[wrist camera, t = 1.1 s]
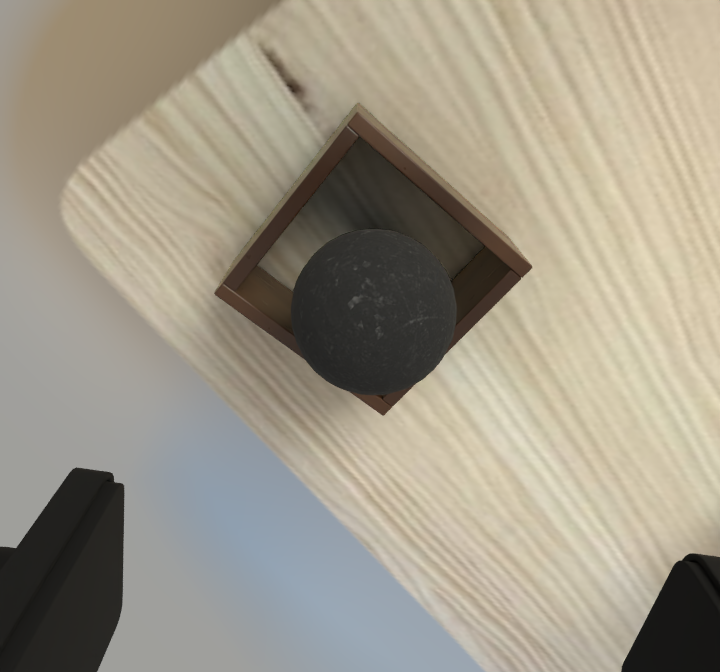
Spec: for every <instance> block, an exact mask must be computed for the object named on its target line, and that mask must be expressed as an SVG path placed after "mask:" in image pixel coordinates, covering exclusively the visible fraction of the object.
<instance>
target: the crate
mask: <svg viewBox="0 0 720 672" xmlns="http://www.w3.org/2000/svg"><path fill="white" fill-rule="evenodd" d="M359 136H360V137H361V138H362V139H363V140H364V141H366V142H367V143H368V144H369V145H370V146H371V147H372V148H374V149H375V150H376V151H377V152H378V153H379V154H380V155H382V156H383V157H384V158H385V159H386V160H387V161H388V162H390V163H391V164H392V165H393V166H394V167H395V168H396V169H398V170H399V171H400V172H401V173H402V174H403V175H404V176H406V177H407V178H408V179H409V180H410V181H411V182H412V183H414V184H415V185H416V186H417V187H418V188H419V189H420V190H422V191H423V192H424V193H425V194H426V195H427V196H428V197H430V198H431V199H432V200H433V201H434V202H435V203H436V204H437V205H439V206H440V207H441V208H442V209H443V210H444V211H445V212H447V213H448V214H449V215H450V216H451V217H452V218H453V219H455V220H456V221H457V222H458V223H459V224H460V225H461V226H463V227H464V228H465V229H466V230H467V231H468V232H469V233H471V234H472V235H473V236H474V237H475V238H476V239H477V240H479V241H480V242H481V243H482V244H483V245H484V246H485V247H484V248H483V249H482V250H481V251H480V252H479V253H478V254H477V256H476V257H475V258H474V259H473V260H472V261H471V262H470V263H469V264H468V265H467V266H466V267H465V268H464V269H463V270H462V271H461V272H460V273H459V274H458V275H457V276H456V277H455V279H454V280H453V281H452V282H451V283H452V286H453V288H454V294H455V300H456V305H457V306H456V307H457V313H456V325H455V330H454V335H453V339H452V341H451V343H450V345H449V347H448V349H447V351H446V353H447V352H448V351H449V350H450V349H451V348H452V347H453V346H454V345H455V344H456V343H457V342H458V341H459V340H460V339H461V338H462V337H463V336H464V335H465V334H466V333H467V332H468V331H469V330H470V329H471V328H472V327H473V326H474V325H475V324H476V323H477V322H478V321H479V320H480V319H481V318H482V317H483V316H484V315H485V314H486V313H487V312H488V311H489V310H490V309H491V308H492V307H493V306H494V305H495V304H496V303H497V302H498V301H499V300H500V299H501V298H502V297H503V296H504V295H505V294H506V293H507V292H508V291H509V290H510V289H511V288H512V287H513V286H514V285H515V284H516V283H517V282H518V281H520V280H521V277H523V276H524V275H525V274H526V273H527V272H528V271H529V270H530V269H531V268H532V265H531V264H530V263H529V262H528V261H527V259H526V258H525V257H524V256H523V254H522V253H521V252H520V251H519V249H518V248H517V247H516V246H515V244H514V243H513V242H512V241H511V239H510V238H509V237H508V236H507V235H505V234H504V233H503V232H502V231H501V230H500V229H499V228H498V227H497V226H495V225H494V224H493V223H492V222H491V221H490V220H489V219H488V218H487V217H485V216H484V215H483V214H482V213H481V212H480V211H479V210H478V209H476V208H475V207H474V206H473V205H472V204H471V203H470V202H469V201H468V200H466V199H465V198H464V197H463V196H462V195H461V194H460V193H459V192H457V191H456V190H455V189H454V188H453V187H452V186H451V185H450V184H449V183H447V182H446V181H445V180H444V179H443V178H442V177H441V176H440V175H438V174H437V173H436V172H435V171H434V170H433V169H432V168H431V167H430V166H428V165H427V164H426V163H425V162H424V161H423V160H422V159H421V158H420V157H418V156H417V155H416V154H415V153H414V152H413V151H412V150H411V149H409V148H408V147H407V146H406V145H405V144H404V143H403V142H402V141H401V140H399V139H398V138H397V137H396V136H395V135H394V134H393V133H392V132H390V131H389V130H388V129H387V128H386V127H385V126H384V125H383V124H382V123H380V122H379V121H378V120H377V119H376V118H375V117H374V116H373V115H371V114H370V113H369V112H368V111H367V110H366V109H365V108H364V107H363V106H361V105H360V104H359V103H357V104H356V105H355V106H354V108H353V109H352V110H351V112H350V113H349V115H347V117H346V118H345V119H344V121H343V122H342V123H341V124H340V126H339V127H338V128H337V129H336V131H335V132H334V133H333V135H332V136H331V137H330V138H329V140H328V141H327V142H326V144H325V145H324V146H323V147H322V149H321V150H320V151H319V152H318V154H317V155H316V156H315V158H314V159H313V160H312V161H311V163H310V164H309V165H308V167H307V168H306V169H305V170H304V172H303V173H302V174H301V175H300V177H299V178H298V179H297V181H296V182H295V183H294V184H293V186H292V187H291V188H290V190H289V191H288V192H287V193H286V195H285V196H284V197H283V198H282V200H281V201H280V202H279V204H278V205H277V206H276V207H275V209H274V210H273V211H272V213H271V214H270V215H269V216H268V218H267V219H266V220H265V221H264V223H263V224H262V225H261V227H260V228H259V229H258V230H257V232H256V233H255V234H254V236H253V237H252V238H251V239H250V241H249V242H248V243H247V245H246V246H245V247H244V248H243V250H242V251H241V252H240V253H239V255H238V256H237V257H236V259H235V260H234V261H233V263H232V264H231V266H230V268H229V269H228V271H227V273H226V274H225V276H224V278H223V279H222V281H221V283H220V284H219V286H218V288H217V289H216V291H215V293H214V294H215V295H216V296H218V297H219V298H220V299H222V300H223V301H225V302H226V303H227V304H229V305H230V306H232V307H233V308H234V309H236V310H237V311H238V312H240V313H241V314H243V315H244V316H245V317H247V318H248V319H250V320H251V321H252V322H254V323H255V324H256V325H258V326H259V327H261V328H262V329H263V330H265V331H266V332H268V333H269V334H270V335H272V336H273V337H275V338H276V339H277V340H279V341H280V342H281V343H283V344H284V345H286V346H287V347H288V348H290V349H291V350H293V351H294V352H295V353H297V354H298V355H300V356H301V357H302V358H304V356H303V355H302V353H301V351H300V349H299V347H298V345H297V343H296V339H295V336H294V332H293V329H292V322H291V303H292V297H293V292H292V291H291V290H289V289H288V288H287V287H285V286H284V285H283V284H281V283H280V282H279V281H277V280H276V279H275V278H273V277H272V276H271V275H269V274H268V273H267V272H265V271H264V270H263V269H261V268H260V267H259V266H257V264H258V263H259V261H260V260H261V259H262V258H263V256H264V255H265V254H266V253H267V251H268V250H269V249H270V248H271V246H272V245H273V244H274V243H275V241H276V240H277V239H278V238H279V236H280V235H281V234H282V233H283V231H284V230H285V229H286V228H287V226H288V225H289V224H290V223H291V221H292V220H293V219H294V218H295V216H296V215H297V214H298V213H299V212H300V210H301V209H302V208H303V207H304V205H305V204H306V203H307V202H308V200H309V199H310V198H311V197H312V195H313V194H314V193H315V192H316V190H317V189H318V188H319V187H320V185H321V184H322V183H323V182H324V180H325V179H326V178H327V177H328V175H329V174H330V173H331V172H332V170H333V169H334V168H335V167H336V165H337V164H338V163H339V162H340V160H341V159H342V158H343V157H344V155H345V154H346V153H347V152H348V150H349V149H350V148H351V147H352V145H353V144H354V143H355V142H356V140H357V139H358V138H359ZM446 353H445V354H446ZM304 359H305V358H304ZM414 385H415V384H414ZM414 385H412V386H411V387H409V388H407V389H405V390H401V391H397V392H394V393H390V394H386V395H361V394H357V393H353V392H351V393H352V394H354V395H355V396H356V397H358V398H359V399H361V400H362V401H363V402H365V403H366V404H367V405H369V406H370V407H372V408H373V409H374V410H376V411H377V412H379V413H380V414H381V415H385V414H386V413H387V412H388V411H389V410H390V409H391V408H392V406H394V405H395V404H396V403H397V402H398V401H399V400H400V399H401V398H402V397H403V396H404V395H405V394H406V393H407V392H408V391H409V390H410V389H411V388H412V387H413V386H414ZM349 392H350V391H349Z"/></svg>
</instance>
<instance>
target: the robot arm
mask: <svg viewBox="0 0 720 672" xmlns="http://www.w3.org/2000/svg"><path fill="white" fill-rule="evenodd" d="M123 534H124V485H123V484H121V483H115V482H114V476H113V474H112V473H110V472H104V471H96V470H90V469H83V468H75V469H73V470H72V471H71V472H70V473H69V475H68V476H67V477H66V479H65V480H64V482H63V483H62V485H61V486H60V487H59V489H58V490H57V492H56V493H55V494H54V496H53V497H52V498H51V500H50V501H49V503H48V504H47V506H46V507H45V509H44V510H43V511H42V513H41V514H40V516H39V517H38V518H37V520H36V521H35V523H34V524H33V525H32V527H31V528H30V530H29V531H28V533H27V534H26V535H25V537H24V538H23V539H22V541H21V542H20V544H19V545H18V546H17V548H10V547H0V672H97V671H98V668H99V666H100V664H101V661H102V659H103V657H104V654H105V652H106V650H107V648H108V645H109V643H110V641H111V638H112V636H113V634H114V631H115V629H116V626H117V624H118V621H119V617H120V613H121V609H122V596H123V595H122V594H123V537H124V535H123ZM621 672H720V557H716V556H708V555H701V554H688V555H687V556H685V557H684V559H683V560H682V561H678V562H676V563H675V565H674V566H673V568H672V570H671V572H670V574H669V576H668V578H667V580H666V582H665V584H664V586H663V587H662V589H661V591H660V593H659V595H658V597H657V599H656V601H655V603H654V605H653V607H652V609H651V611H650V613H649V615H648V617H647V618H646V620H645V622H644V624H643V626H642V628H641V630H640V632H639V634H638V636H637V638H636V640H635V642H634V644H633V646H632V648H631V650H630V651H629V653H628V655H627V657H626V659H625V661H624V663H623V666H622V671H621Z"/></svg>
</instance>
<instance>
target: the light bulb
mask: <svg viewBox="0 0 720 672" xmlns="http://www.w3.org/2000/svg"><path fill="white" fill-rule="evenodd" d="M456 306H457V305H456V300H455V294H454V288H453V286H452V283H451V281H450V279H449V276H448V274H447V272H446V270H445V269H444V267H443V266H442V265H441V263H440V262H439V260H438V259H437V258H436V257H435V256H434V255H433V254H432V253H431V252H430V251H429V250H428V249H427V248H426V247H425V246H424V245H422V244H421V243H419V242H417V241H416V240H414V239H413V238H411V237H409V236H406V235H403V234H401V233H399V232H395V231H393V230H383V229H363V230H356V231H353V232H349V233H346V234H343V235H340V236H339V237H337V238H335V239H333V240H331V241H329V242H328V243H326V244H325V245H324V246H323V247H322V248H320V249H319V250H318V251H317V252H316V253H315V254H314V255H313V256H312V257H311V259H310V260H309V261H308V263H307V264H306V265H305V267H304V268H303V270H302V271H301V273H300V275H299V277H298V280H297V282H296V284H295V288H294V292H293V297H292V303H291V322H292V329H293V332H294V336H295V339H296V343H297V345H298V347H299V349H300V351H301V353H302V355H303V356H304V358H305V360H306V361H307V362H308V364H309V365H310V366H311V367H312V368H313V370H314V371H315V372H316V373H318V374H319V375H320V376H321V377H322V378H324V379H325V380H326V381H328V382H329V383H331V384H333V385H335V386H337V387H339V388H341V389H344V390H347V391H350V392H353V393H357V394H361V395H386V394H390V393H394V392H397V391H401V390H405V389H407V388H409V387H411V386H412V385H414V384H416V383H417V382H419V381H421V380H423V379H424V378H425V377H426V376H427V375H428V374H429V373H430V372H432V371H433V370H434V369H435V367H436V366H437V365H438V364H439V362H440V361H441V360H442V358H443V357H444V355H445V353H446V351H447V349H448V347H449V345H450V343H451V341H452V339H453V335H454V330H455V325H456V313H457V307H456Z"/></svg>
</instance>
